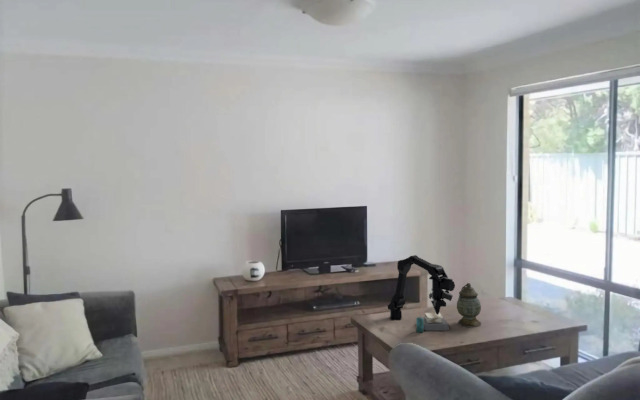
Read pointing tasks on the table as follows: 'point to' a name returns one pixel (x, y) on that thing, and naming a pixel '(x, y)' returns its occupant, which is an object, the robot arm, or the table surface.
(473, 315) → the lidded ginger jar
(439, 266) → the robot arm
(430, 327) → the socket block
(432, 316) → the sliding lid
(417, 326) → the teal peg
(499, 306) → the table surface
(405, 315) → the table surface
